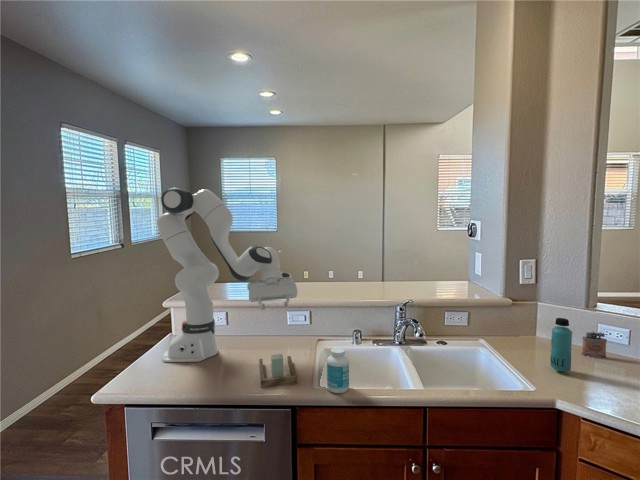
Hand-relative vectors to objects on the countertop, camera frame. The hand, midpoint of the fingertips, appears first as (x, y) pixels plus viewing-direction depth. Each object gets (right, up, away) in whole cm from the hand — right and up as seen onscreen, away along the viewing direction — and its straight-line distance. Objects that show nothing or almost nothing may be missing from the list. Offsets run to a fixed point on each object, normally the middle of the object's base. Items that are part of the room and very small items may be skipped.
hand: (274, 307), depth 145 cm
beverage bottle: (+107, -21, -13) cm, 110 cm away
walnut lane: (+2, -23, -11) cm, 25 cm away
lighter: (+130, -20, 0) cm, 131 cm away
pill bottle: (+25, -23, -23) cm, 41 cm away
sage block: (+3, -23, -15) cm, 27 cm away
